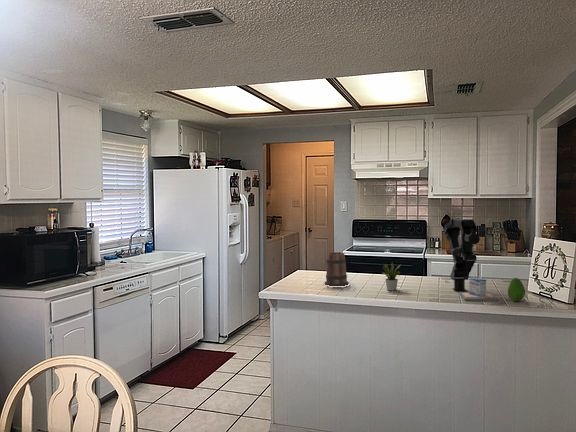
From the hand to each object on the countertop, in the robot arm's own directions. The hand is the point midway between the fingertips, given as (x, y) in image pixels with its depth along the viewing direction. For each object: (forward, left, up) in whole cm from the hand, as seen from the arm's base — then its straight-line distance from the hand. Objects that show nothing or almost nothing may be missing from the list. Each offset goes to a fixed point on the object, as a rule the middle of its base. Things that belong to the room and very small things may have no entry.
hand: (467, 271), depth 264 cm
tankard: (-28, -72, -13) cm, 79 cm away
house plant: (-11, -41, -13) cm, 44 cm away
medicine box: (+7, +4, -12) cm, 14 cm away
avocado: (+15, +21, -13) cm, 29 cm away
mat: (+7, +4, -13) cm, 15 cm away
